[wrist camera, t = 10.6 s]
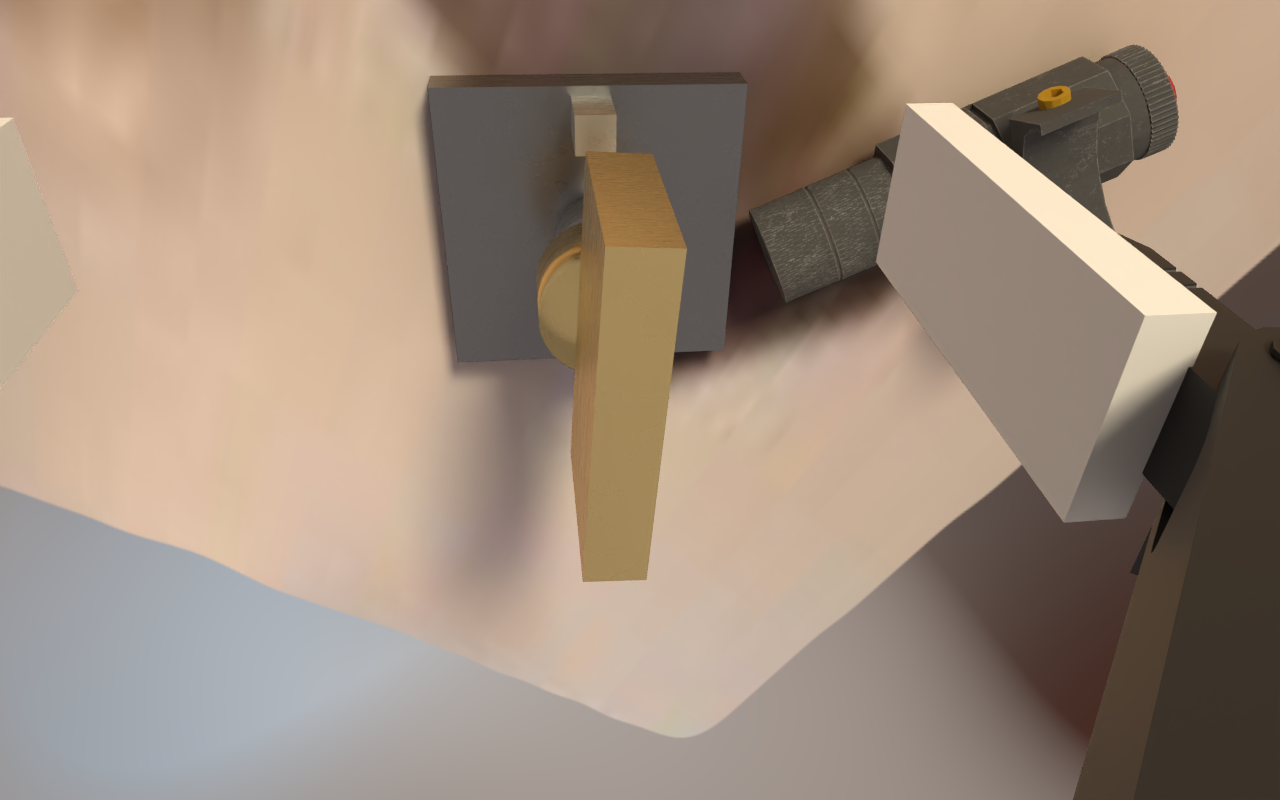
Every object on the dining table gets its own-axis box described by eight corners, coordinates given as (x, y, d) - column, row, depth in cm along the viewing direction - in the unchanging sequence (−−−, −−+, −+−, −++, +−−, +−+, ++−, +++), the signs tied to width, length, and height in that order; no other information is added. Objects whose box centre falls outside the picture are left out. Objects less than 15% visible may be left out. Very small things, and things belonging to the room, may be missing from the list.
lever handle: (533, 407, 50) (541, 582, 40) (539, 117, 41) (551, 245, 30) (648, 407, 51) (686, 578, 41) (679, 123, 42) (738, 249, 31)
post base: (430, 76, 46) (419, 121, 41) (739, 72, 48) (770, 115, 43) (459, 344, 56) (454, 411, 50) (717, 333, 57) (741, 396, 52)
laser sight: (728, 160, 51) (770, 238, 43) (1125, -13, 48) (1250, 36, 40) (779, 298, 57) (824, 390, 49) (1137, 151, 54) (1248, 222, 46)
